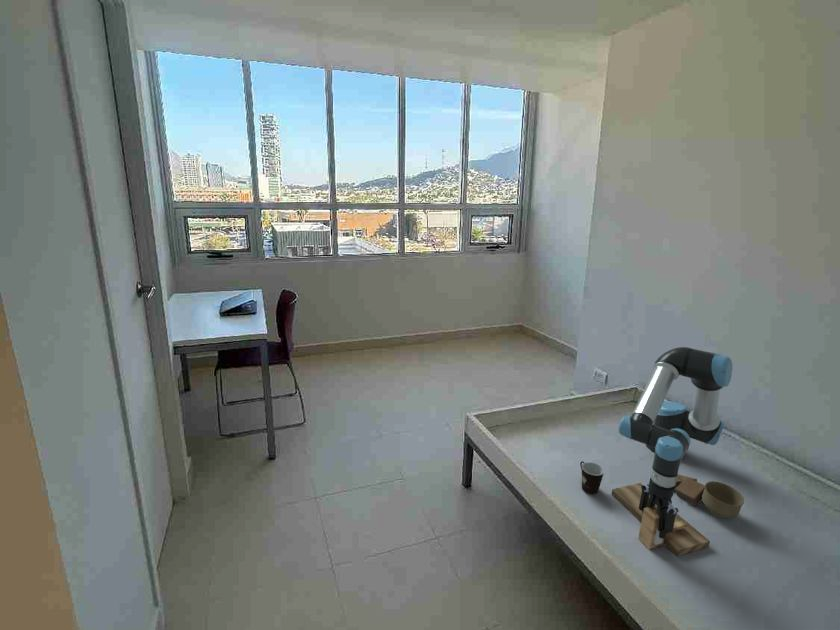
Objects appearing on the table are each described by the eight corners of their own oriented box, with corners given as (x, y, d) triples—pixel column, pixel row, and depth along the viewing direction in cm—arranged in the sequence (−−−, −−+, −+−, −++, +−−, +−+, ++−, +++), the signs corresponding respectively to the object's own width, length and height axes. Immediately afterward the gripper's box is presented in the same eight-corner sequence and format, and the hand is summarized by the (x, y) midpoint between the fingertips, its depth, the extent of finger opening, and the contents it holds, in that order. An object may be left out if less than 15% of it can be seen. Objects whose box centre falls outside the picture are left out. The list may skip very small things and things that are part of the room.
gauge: (676, 527, 159) (683, 496, 155) (688, 537, 154) (695, 506, 150) (638, 538, 154) (644, 506, 150) (649, 549, 149) (655, 516, 146)
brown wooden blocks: (678, 482, 189) (716, 504, 172) (654, 483, 185) (690, 506, 168) (681, 465, 188) (719, 487, 171) (656, 467, 184) (693, 488, 167)
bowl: (728, 530, 158) (734, 508, 155) (692, 509, 168) (697, 487, 166) (745, 518, 164) (751, 496, 161) (709, 497, 175) (715, 477, 172)
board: (639, 487, 180) (640, 482, 179) (708, 546, 151) (710, 540, 150) (611, 494, 176) (612, 489, 175) (677, 556, 147) (678, 550, 146)
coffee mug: (602, 497, 174) (606, 476, 171) (580, 494, 176) (583, 473, 173) (597, 479, 185) (600, 459, 182) (576, 476, 187) (579, 456, 184)
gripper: (633, 467, 152) (624, 521, 159) (676, 501, 136) (663, 560, 143) (650, 463, 155) (640, 516, 161) (694, 496, 138) (681, 554, 145)
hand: (651, 537), depth 152 cm, fingers closed on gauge, 5 cm apart
